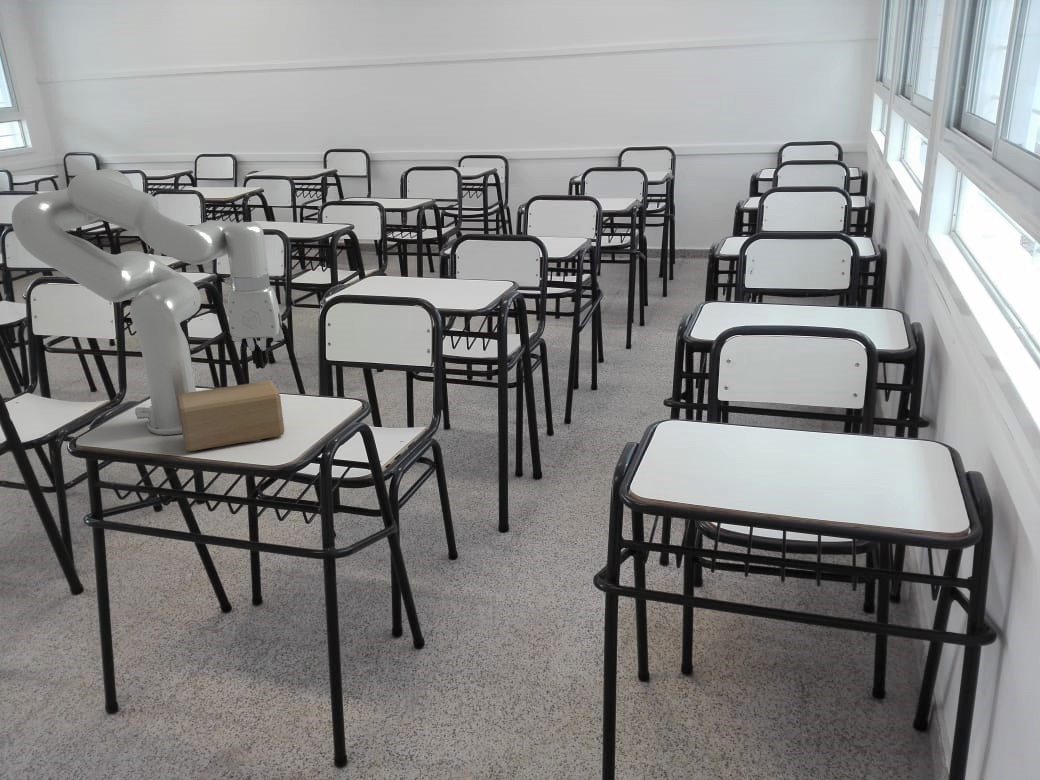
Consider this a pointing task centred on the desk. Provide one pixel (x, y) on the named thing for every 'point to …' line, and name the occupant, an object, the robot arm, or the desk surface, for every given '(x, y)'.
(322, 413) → the desk surface
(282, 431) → the wooden block
